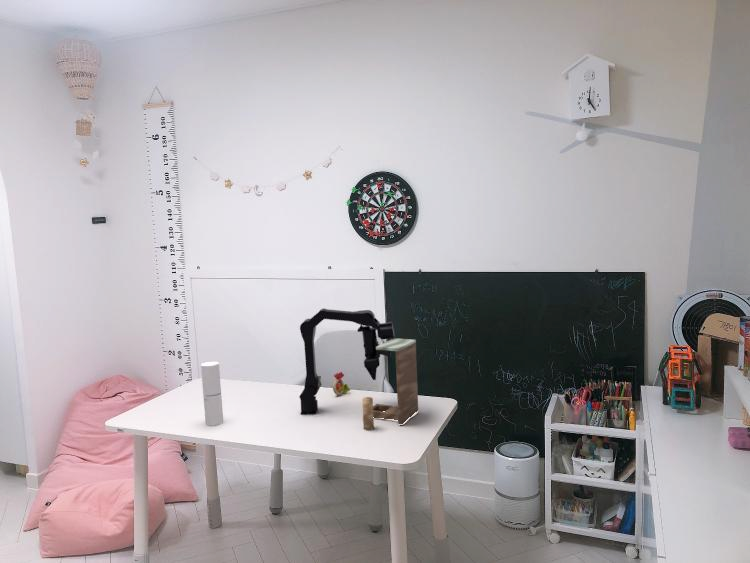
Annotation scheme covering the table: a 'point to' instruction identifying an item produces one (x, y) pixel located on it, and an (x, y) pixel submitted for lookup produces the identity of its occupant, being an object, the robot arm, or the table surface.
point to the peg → (368, 413)
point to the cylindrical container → (212, 393)
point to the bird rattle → (339, 387)
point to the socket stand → (401, 381)
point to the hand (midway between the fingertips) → (374, 376)
